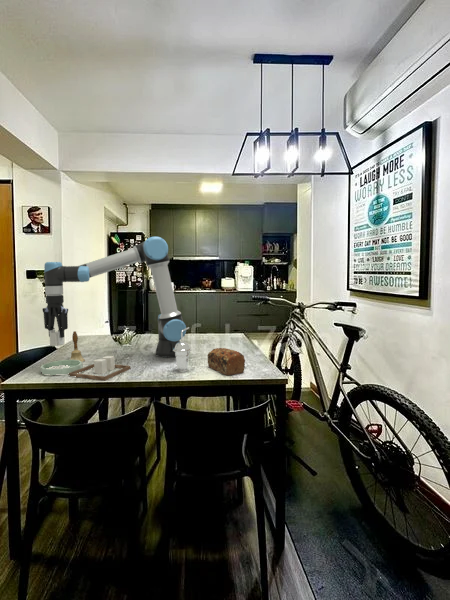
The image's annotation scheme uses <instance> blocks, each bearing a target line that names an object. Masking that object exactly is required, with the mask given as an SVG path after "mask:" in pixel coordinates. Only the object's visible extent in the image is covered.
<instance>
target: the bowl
mask: <svg viewBox="0 0 450 600" xmlns="http://www.w3.org/2000/svg"><path fill="white" fill-rule="evenodd" d="M59 365H65V366H66V365H68V366H70V367H69V368H63V369H46V368H49V367H52V366H59ZM39 367H40V368H39V369H40V373H41V372H42V373H43V374H50V375H56V374H68V373H71V372H73V371H76V370H79V369H82V368H84V367H83V362H81V361H79V360H70V359H60V360H54V361H50V362H46V363H43V364H42V365H41V366H39Z"/></svg>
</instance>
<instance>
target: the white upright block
mask: <svg viewBox="0 0 450 600" xmlns="http://www.w3.org/2000/svg"><path fill="white" fill-rule="evenodd" d="M102 359H107V371H109V370H111V371H113V370H114V368H115V364H116V363H115V361H116V360H115V355H105V356H103V357H102ZM115 369H116V368H115Z"/></svg>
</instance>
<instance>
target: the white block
mask: <svg viewBox="0 0 450 600" xmlns="http://www.w3.org/2000/svg"><path fill="white" fill-rule="evenodd" d="M93 364H94V368H93V371H94V374H95V375H97V374H98V375H103V373H104V374H105V372H106V373H107V372H108V370H107V359H103V358H97V359H95V360H94V361H93Z"/></svg>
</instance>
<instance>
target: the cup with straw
mask: <svg viewBox="0 0 450 600" xmlns="http://www.w3.org/2000/svg"><path fill="white" fill-rule="evenodd" d="M189 329H190V327H189V326H188V327H186V329H184V330H182V331H181V340H180V342H178V343H177V344H176V345H175V348H173V351H174V352H175V362H176V369H177V372H180V373H184V372H187V371H188V368H189V357H190V351H192V348H191V347H190V345H189V343H188V342H186V341H184V337H183V331H185V330H186V331H187V330H189Z"/></svg>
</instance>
